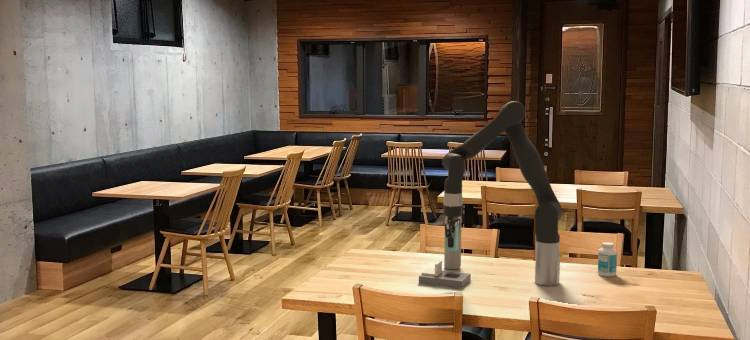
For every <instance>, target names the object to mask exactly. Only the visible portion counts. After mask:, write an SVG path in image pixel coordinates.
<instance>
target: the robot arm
mask: <svg viewBox="0 0 750 340" xmlns="http://www.w3.org/2000/svg"><path fill="white" fill-rule="evenodd" d="M525 117H526V107H525V106H524V105H523V104H522V103H521V102H519V101H517V100H516V101H515V100H513V101H509V102H506V104H503V106H501V107H500V109H499V111H498V114H497V115H496V116H495V118H493V119H492V120H491V121H490V122H489V123H487V124H486V125H485V126H483V127H482V128H481V129H479V130H477V131H476V132H475V133H474V134H473V135H471V136H470V137H469V138H467V139H466V140H465V141H464V142H462V144H460V145H459V146H456V147H454V148H453V149H451V150H450V151H448V152H447V153H446V154H445V155H444V156H443V157H442V161H441V165H442V168H444V169H445V170H447V171H448V174H447V178H445V179H444V183H443V184H444V191H443V192H444V193H443V205H442V206H443V209H442V211H443V216H444V217H445V216H447V217H448V220H447V223H446V224H445V223H444V235H445V234H446V237H447V238H448V247H450V248H453V247H454V233H455V227H456V225H457V226H458V225H459V229H460V224H461V223H460V221H461V219H459V218H458V217H460V216H462V217H463V203H464V202H463V199H464V198H463V197H464V196H463V181H464V177H465V170H466V160H468V159H470V160H471V159H473V158H475V157H476V156H477V155H478V154H480V153H481V152H482V151H483V150H485V148H486V147H487V146H489V145H490V144H491V143H492V142H493V141H495V139H497V138H498V137H499V136H500V135H501V134H503V133H504V132H505V134H506V136H507V138H508V140H509V143H510V145H511V149H512V151H513V155H514V157H515V159H516V163H517V165H518V167H519V170H520V173H521V175H522V177H523V178H524V180H525V181H526V183H527V184H528V185H529V187H530V188H531V189H532V191H533V193H534V195H535V198H536V201H537V204H538V206H537V207H536V209H535V212H534V235H535V259H534V260H535V263H534V264H535V266H534V283H535V284H537V285H539V286H546V287H549V286H550V287H551V286H558V285H559V283H560V274H561V272H560V270H561V267H560V266H561V259H560V243H561V242H560V241H561V239H560V238H561V237H560V234H559V221H560V219H561V218H562V216H563V208H562V206H561V203H560V202H559V200H558V197H557V196H556V194H555V192H554V190H553V187H552V185H551V182H550V179H549V176H548V175H547V171H546V169H545V165H544V163H543V160H542V158H541V155H540V152H539V151H538V149H537V148H536V146H535V145H534V143H533V141H531V140H530V139H529V136H528V135H527V133H526V131H525V129H524V126H523V122H522V121H523V120H524V118H525ZM461 222H462V221H461ZM452 229H454V230H452ZM449 233H450V235H449Z"/></svg>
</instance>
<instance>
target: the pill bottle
mask: <svg viewBox="0 0 750 340" xmlns="http://www.w3.org/2000/svg"><path fill="white" fill-rule="evenodd" d="M601 246H602V247H601V248H599V249H598V253H597V256H598V257H597V273H598V275H599V276H601V277H605V278H606V277H607V278H608V277H610V278H611V277H615V276H616V275H617V262H618V261H617V259H618V251H617V250H616V248H614V247H615V245H614V243H613V242H607V241H606V242H605V241H604V242H601Z"/></svg>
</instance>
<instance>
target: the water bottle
mask: <svg viewBox="0 0 750 340" xmlns="http://www.w3.org/2000/svg"><path fill="white" fill-rule="evenodd" d="M444 217H445V218H444V221H443V223H444V225H445V224H446V223H447V220H448V217H447V216H444ZM458 218H459V219H461V221H460V229H459V243H458V250H457V251H456V252H453V251H446V234H445V233H444V252H443V253H444V254H443V255H444V256H443V257H444V259H443V261H444V263H443V264H444V265H443V267H444V268H445V269H447V270H449V271H450V270H454V271H455V270H460V269H461V266H462V264H461V263H462V223H463V215H462V216H460V217H458Z"/></svg>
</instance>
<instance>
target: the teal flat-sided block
mask: <svg viewBox="0 0 750 340" xmlns="http://www.w3.org/2000/svg"><path fill="white" fill-rule="evenodd" d="M452 230H454V229H452ZM449 235H450V233H449ZM458 243H459V225H458V226H457V225H456V227H455V233H454V247H453V248H450V247H448V238H447V237H446V251H453V252H456V251H457V250H458Z"/></svg>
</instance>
